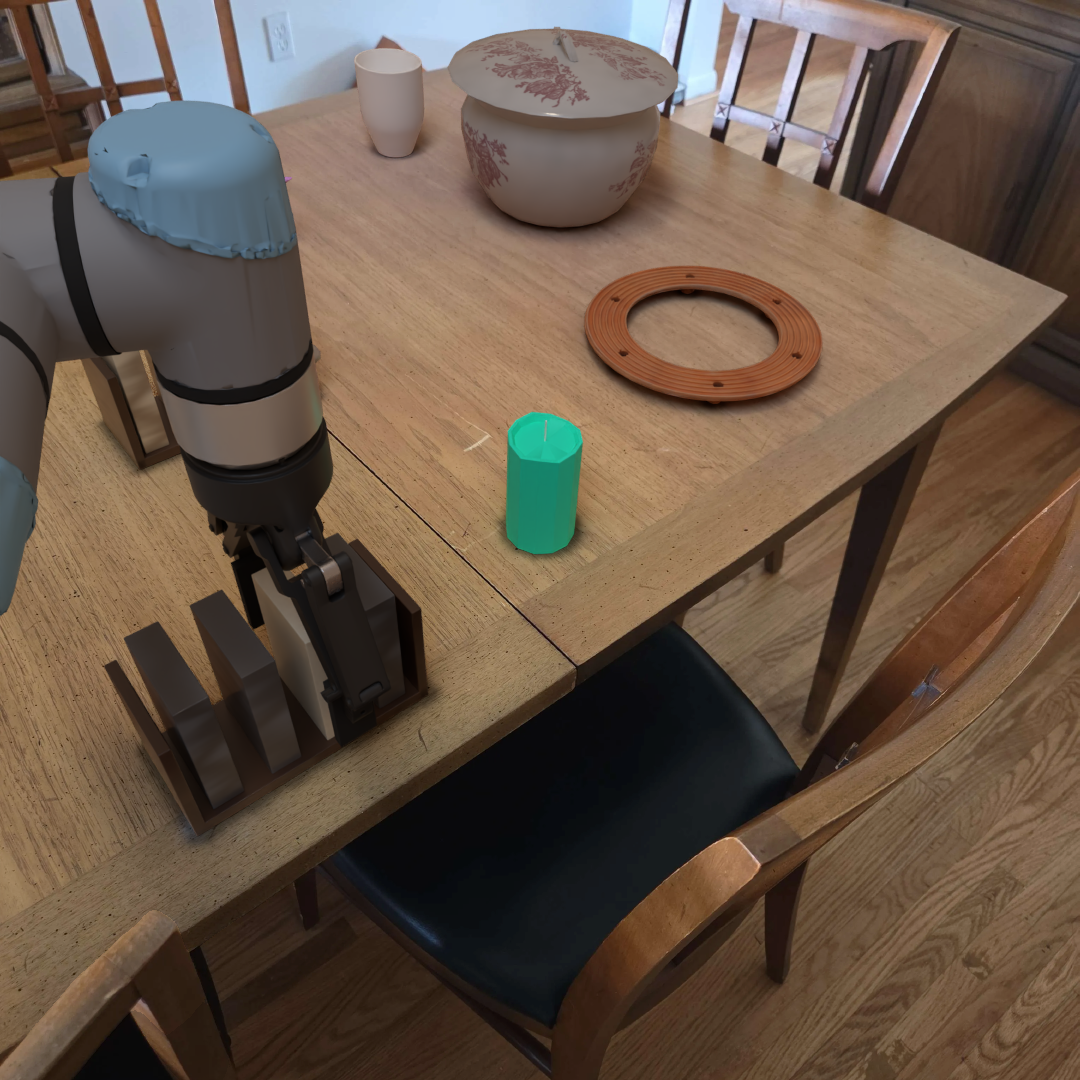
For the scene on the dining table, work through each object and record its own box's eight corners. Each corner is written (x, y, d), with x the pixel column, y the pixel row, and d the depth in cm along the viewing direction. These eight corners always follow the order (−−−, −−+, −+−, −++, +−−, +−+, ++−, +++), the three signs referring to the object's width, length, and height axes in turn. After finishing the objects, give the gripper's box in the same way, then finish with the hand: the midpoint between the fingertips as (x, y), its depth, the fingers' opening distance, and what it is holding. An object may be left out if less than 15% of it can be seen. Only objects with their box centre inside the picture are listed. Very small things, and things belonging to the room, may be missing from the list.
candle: (495, 513, 81) (496, 405, 73) (558, 498, 83) (567, 390, 74) (519, 561, 78) (523, 453, 69) (585, 545, 79) (597, 436, 71)
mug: (409, 168, 127) (403, 76, 118) (351, 156, 129) (341, 64, 120) (444, 136, 135) (441, 47, 126) (389, 124, 137) (383, 36, 128)
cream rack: (139, 470, 83) (99, 359, 75) (105, 424, 88) (63, 314, 79) (316, 397, 92) (299, 290, 83) (277, 358, 96) (256, 252, 87)
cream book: (327, 740, 64) (305, 643, 56) (278, 674, 68) (250, 574, 60) (355, 724, 65) (337, 626, 57) (305, 659, 69) (281, 559, 61)
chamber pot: (580, 280, 109) (595, 97, 94) (407, 206, 120) (396, 31, 105) (701, 197, 125) (730, 29, 110) (538, 138, 136) (544, -22, 121)
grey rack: (197, 837, 60) (148, 737, 51) (146, 750, 64) (93, 645, 55) (428, 694, 68) (420, 588, 59) (370, 626, 72) (354, 517, 64)
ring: (536, 324, 102) (537, 305, 100) (701, 259, 113) (704, 241, 112) (696, 448, 89) (701, 428, 87) (865, 361, 100) (872, 342, 98)
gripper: (443, 525, 44) (455, 763, 60) (216, 301, 56) (276, 548, 72) (301, 599, 40) (353, 831, 56) (93, 343, 53) (183, 592, 68)
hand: (310, 672), depth 64 cm, fingers open, 11 cm apart
